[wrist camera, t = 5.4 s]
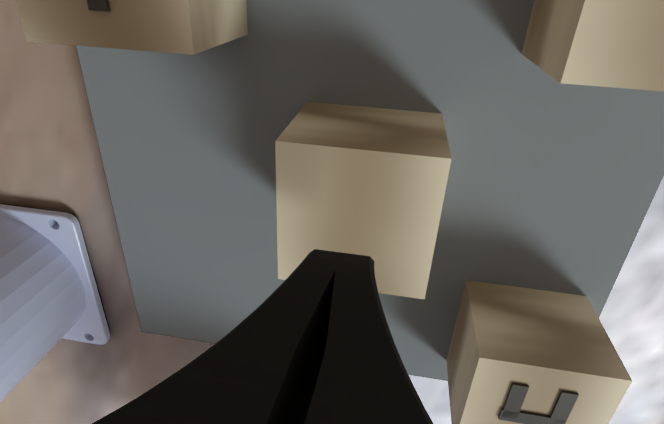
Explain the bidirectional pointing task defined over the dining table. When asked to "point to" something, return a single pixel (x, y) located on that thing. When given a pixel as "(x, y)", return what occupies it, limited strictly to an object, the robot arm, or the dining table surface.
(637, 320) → the dining table surface
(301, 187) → the plain block
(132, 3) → the tan cube
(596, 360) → the block four
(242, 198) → the mat
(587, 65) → the block seven
